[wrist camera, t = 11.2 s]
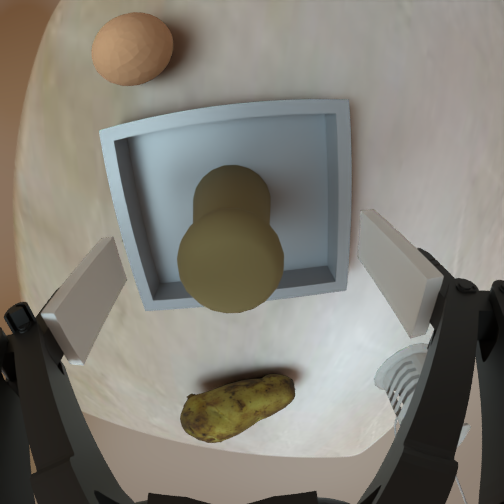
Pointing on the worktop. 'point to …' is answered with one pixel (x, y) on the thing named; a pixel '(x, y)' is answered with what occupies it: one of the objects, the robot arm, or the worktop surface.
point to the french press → (406, 382)
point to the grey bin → (243, 154)
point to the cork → (231, 242)
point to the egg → (132, 49)
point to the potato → (235, 407)
